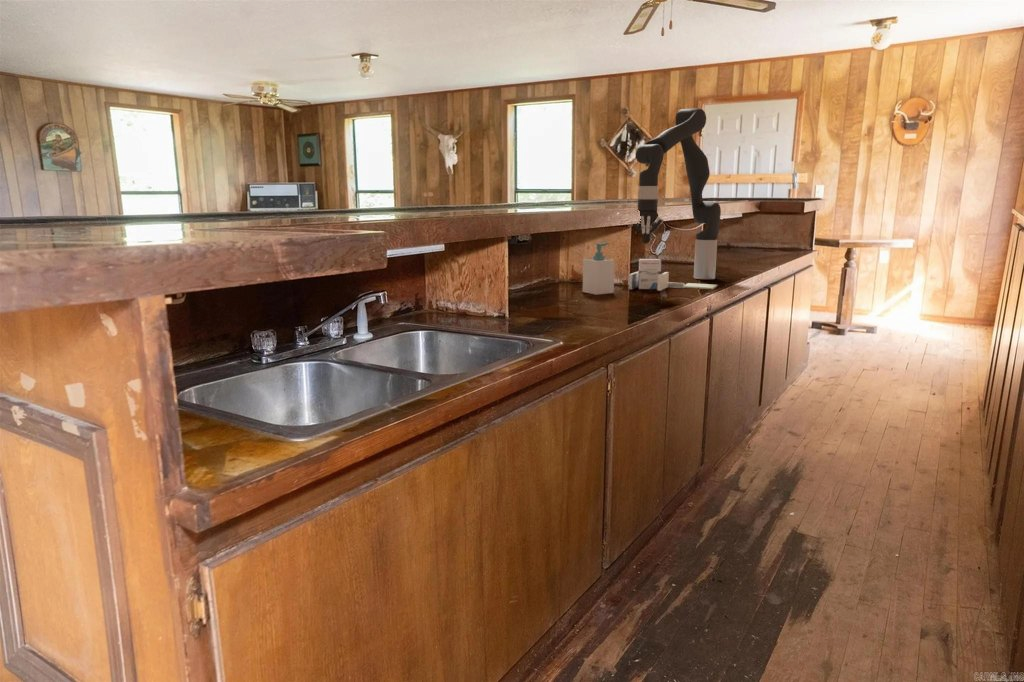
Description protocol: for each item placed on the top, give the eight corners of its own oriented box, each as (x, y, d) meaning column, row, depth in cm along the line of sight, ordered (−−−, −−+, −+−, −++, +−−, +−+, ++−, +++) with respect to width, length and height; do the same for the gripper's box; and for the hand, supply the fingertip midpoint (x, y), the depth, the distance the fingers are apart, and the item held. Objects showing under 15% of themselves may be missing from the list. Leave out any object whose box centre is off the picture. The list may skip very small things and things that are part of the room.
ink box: (659, 287, 277) (660, 258, 275) (660, 289, 273) (661, 259, 270) (637, 287, 278) (638, 258, 276) (638, 289, 273) (639, 259, 271)
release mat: (687, 284, 286) (688, 283, 286) (717, 286, 281) (717, 284, 280) (682, 287, 277) (682, 286, 277) (712, 289, 272) (712, 287, 272)
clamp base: (638, 285, 284) (638, 270, 283) (684, 287, 276) (684, 273, 275) (628, 289, 273) (628, 274, 271) (675, 292, 264) (676, 277, 263)
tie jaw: (665, 286, 278) (665, 271, 276) (668, 286, 277) (668, 272, 276) (657, 290, 267) (658, 275, 266) (660, 290, 267) (661, 275, 266)
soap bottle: (614, 293, 264) (615, 243, 259) (596, 294, 259) (597, 244, 255) (600, 290, 271) (601, 241, 267) (582, 292, 266) (583, 242, 262)
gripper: (667, 198, 264) (665, 243, 268) (634, 198, 270) (632, 242, 274) (662, 198, 257) (660, 244, 261) (628, 198, 263) (626, 243, 267)
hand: (646, 243), depth 267 cm, fingers closed
